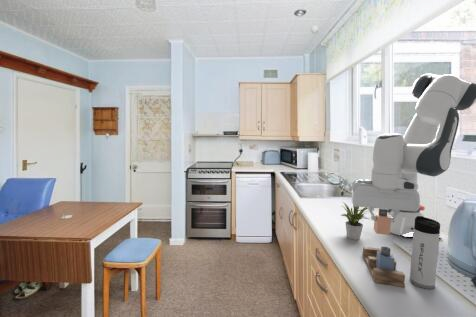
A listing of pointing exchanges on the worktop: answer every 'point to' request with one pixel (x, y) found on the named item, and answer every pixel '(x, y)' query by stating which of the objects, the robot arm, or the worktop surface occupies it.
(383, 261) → the slate plug
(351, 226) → the house plant
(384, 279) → the slotted wooden block
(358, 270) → the worktop surface
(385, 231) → the pink square bottle
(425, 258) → the travel mug
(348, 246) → the worktop surface
